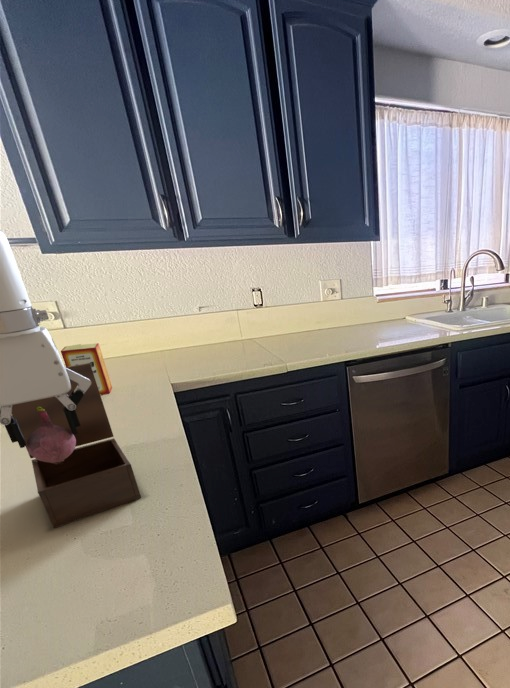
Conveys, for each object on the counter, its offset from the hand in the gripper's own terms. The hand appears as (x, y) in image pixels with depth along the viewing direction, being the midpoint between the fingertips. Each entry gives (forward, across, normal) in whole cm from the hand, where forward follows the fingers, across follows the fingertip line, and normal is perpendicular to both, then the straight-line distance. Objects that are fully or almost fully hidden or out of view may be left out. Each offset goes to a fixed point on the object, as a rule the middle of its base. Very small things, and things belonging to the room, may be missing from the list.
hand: (49, 437), depth 67 cm
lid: (+3, -3, -21) cm, 22 cm away
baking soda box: (+19, -15, -87) cm, 91 cm away
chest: (+19, -3, -14) cm, 24 cm away
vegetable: (+5, 0, 0) cm, 5 cm away
